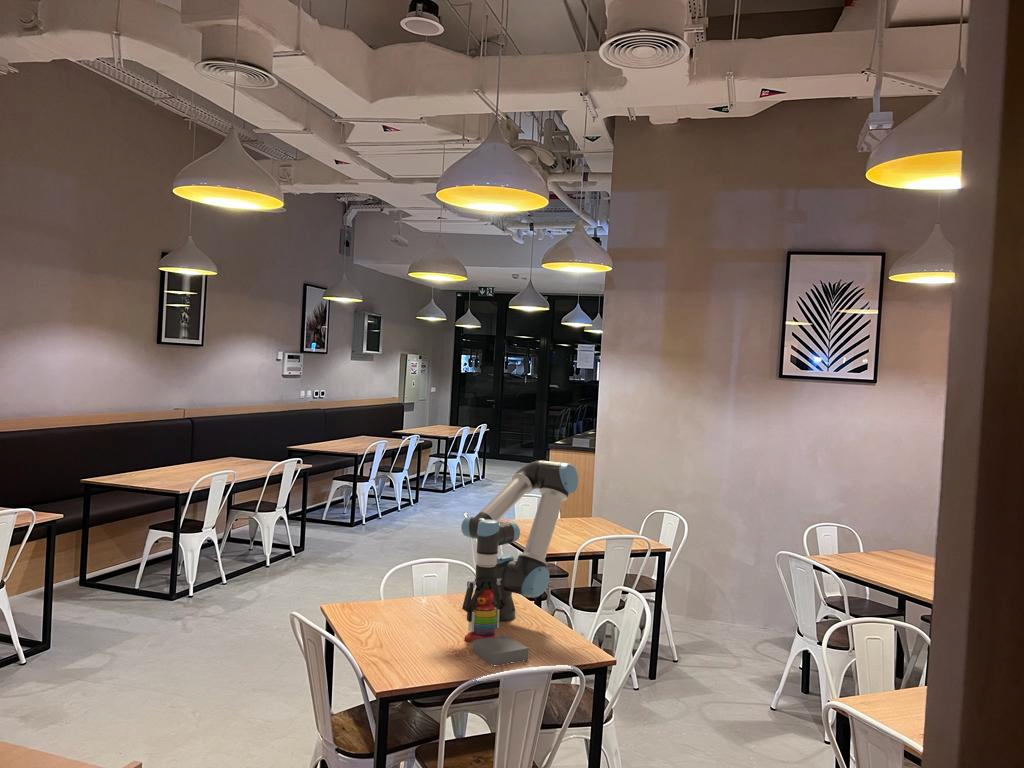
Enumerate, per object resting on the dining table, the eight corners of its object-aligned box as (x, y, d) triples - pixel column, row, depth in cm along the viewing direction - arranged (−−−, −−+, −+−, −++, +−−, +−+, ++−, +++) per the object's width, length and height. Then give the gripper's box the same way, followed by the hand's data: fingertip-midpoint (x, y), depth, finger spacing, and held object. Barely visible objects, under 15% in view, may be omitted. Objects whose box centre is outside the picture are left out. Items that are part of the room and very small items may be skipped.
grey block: (506, 646, 247) (506, 634, 247) (528, 660, 235) (528, 648, 235) (472, 652, 240) (473, 640, 240) (493, 666, 228) (494, 653, 228)
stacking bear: (462, 641, 250) (464, 589, 251) (473, 632, 260) (476, 582, 260) (491, 646, 247) (493, 593, 247) (501, 637, 256) (504, 586, 257)
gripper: (507, 560, 263) (505, 621, 262) (453, 564, 251) (450, 629, 251) (518, 564, 256) (515, 628, 256) (463, 569, 245) (460, 636, 245)
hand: (483, 628), depth 253 cm, fingers closed on stacking bear, 9 cm apart
